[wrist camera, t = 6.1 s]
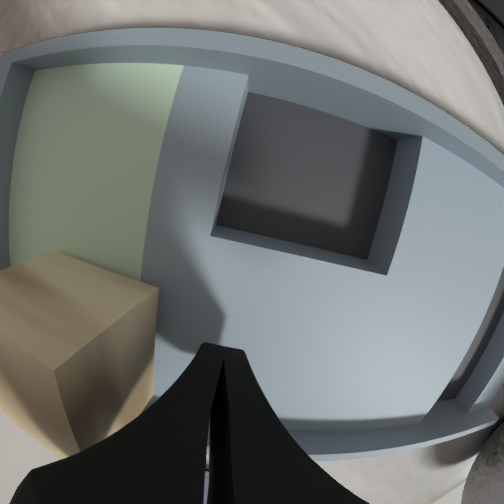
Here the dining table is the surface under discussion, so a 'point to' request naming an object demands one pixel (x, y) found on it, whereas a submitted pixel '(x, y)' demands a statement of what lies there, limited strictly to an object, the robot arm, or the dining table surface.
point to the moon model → (487, 473)
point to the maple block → (74, 350)
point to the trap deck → (271, 222)
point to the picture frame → (483, 33)
